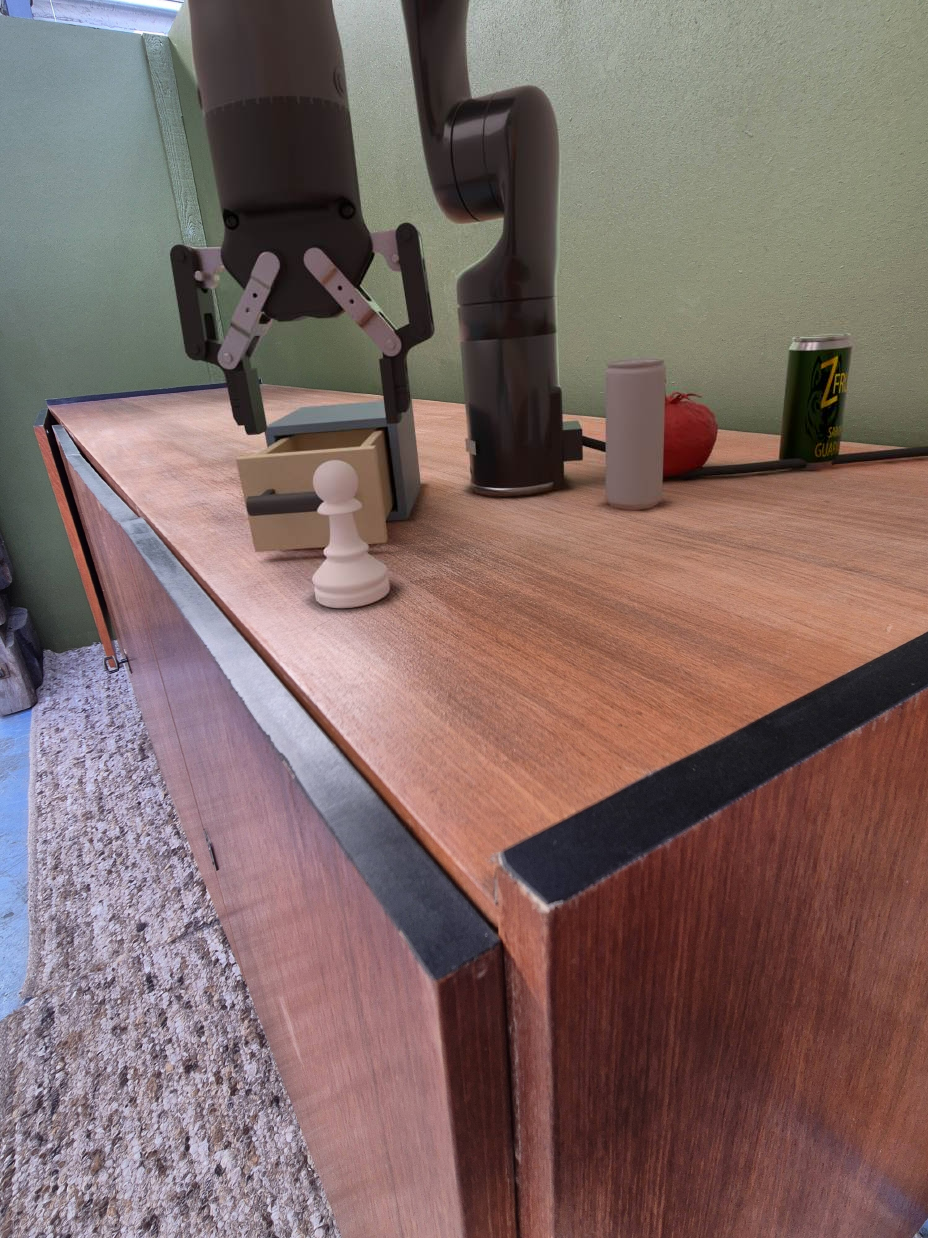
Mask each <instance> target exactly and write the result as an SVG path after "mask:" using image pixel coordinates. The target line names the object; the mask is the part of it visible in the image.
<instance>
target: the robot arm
mask: <svg viewBox="0 0 928 1238" xmlns="http://www.w3.org/2000/svg"><path fill="white" fill-rule="evenodd" d="M470 2H471V0H399V4H400V9H401V10H400V11H401V15H402V20H403V21H402V22H403V28H404V32H405V38H406V39H405V40H406V47H407V53H408V58H409V59H408V60H409V65H410V66H409V67H410V73H411V78H412V85H413V93H414V99H415V107H416V113H417V121H418V128H419V135H420V143H421V147H422V154H423V159H424V165H425V170H426V173H427V179H428V183H429V185H430V188H431V192H432V194H433V197H434V200H435V202H436V205H437V206H438V208H439V209H440V212H441V213H442V214H443V216H444V217H445V218H446V219H447V220H448V221H449V222H451V223H452V224H455V225H458V226H459V225H461V226H467V225H475V224H481V223H487V222H493V221H494V222H495V221H499V220H503V222H502V229H501V234H500V235H499V237H498V240H497V241H496V243H495V244H493V246H492V247H491V248H490V250H489V251H488V252H487V253H486V254H484V256H482V257H480V258H479V259H478V260H477V261H475V262H473V263H472V264H470V265H468V266H466V267H465V268H464V269H462V270H461V271H459V273H458V274H457V277H456V280H455V292H456V293H455V294H456V304H457V317H458V318H457V319H458V331H459V341H460V356H461V368H462V381H463V394H464V395H463V396H464V408H465V420H466V433H467V437H465V438H464V440H465V441H464V442H465V451H466V452H467V453H468V458H469V474H470V481H469V483H470V489H471V491H473V492H474V493H477V494H480V495H485V496H494V497H514V496H515V497H516V496H525V495H526V496H527V495H533V494H540V493H545V492H549V491H551V490H560V489H565V487H566V486H565V462H580V461H583V460H584V447H585V448H588V449H592V450H596V451H600V452H602V453H605V454H606V441H603V440H600V439H596V438H592V437H589V436H586V435H583V427H582V425H581V424H580V421H579V420H566V421H565V420H564V415H563V389H562V386H561V385H560V364H559V363H560V362H559V359H560V358H559V333H558V332H559V327H558V326H559V325H558V324H559V323H558V298H557V296H558V289H557V286H558V285H557V283H558V278H557V277H558V271H559V265H560V251H561V250H560V249H561V248H560V245H561V244H560V221H561V219H560V217H561V216H560V214H561V213H560V212H561V211H560V210H561V182H562V181H561V180H562V179H561V177H562V165H561V164H562V162H561V161H562V159H561V158H562V157H561V156H562V154H561V153H562V152H561V137H560V130H559V125H558V119H557V115H556V112H555V109H554V107H553V103H552V101H551V99H550V98H549V97H548V95H547V94H546V92H545V91H544V90H543V89H541V87H538V86H536V85H533V84H524V85H518V86H514V87H510V88H506V89H503V90H498V91H495V92H490V93H486V94H483V95H480V96H475V97H473V92H472V87H471V81H470V73H469V61H468V60H469V59H468V44H467V43H468V42H467V35H468V34H467V33H468V17H469V9H470ZM187 5H188V11H189V23H190V39H191V51H192V59H193V66H194V72H195V76H196V85H195V88H196V89H195V90H196V95H197V101H198V105H199V108H200V111H201V112H202V116H203V120H204V126H205V131H206V137H207V141H208V149H209V154H210V158H211V165H212V170H213V175H214V181H215V185H216V191H217V196H218V201H219V207H220V212H221V217H222V221H223V227H224V229H223V230H224V231H223V232H224V234H223V235H224V236H223V240H222V243H221V246H214V247H213V246H212V247H209V246H208V247H195V246H192V245H187V244H180V243H179V244H175V245H173V246H172V247H171V249H170V250H169V251H170V252H169V259H170V266H171V271H172V277H173V284H174V289H175V290H174V291H175V296H176V303H177V309H178V314H179V315H178V316H179V321H180V328H181V333H182V340H183V346H184V352H185V355H186V356H187V357H188V358H189V359H191V361H195V362H196V361H198V362H199V361H201V362H204V363H208V364H212V365H215V366H217V367H218V368H219V369H221V371H222V372H223V374H224V378H225V383H226V389H227V393H228V399H229V403H230V407H231V413H232V417H233V418H232V419H233V420H234V422H235V423H236V425H237V426H238V427H241V426H243V427H244V431H245V434H246V435H247V436H257V435H261V434H263V433H264V432H265V431H266V430H267V425H268V423H267V417H266V411H265V407H264V400H263V395H262V391H261V390H262V389H261V385H260V379H259V373H258V369H257V367H252V364H251V362H252V360H253V358H254V355H255V353H256V351H257V349H258V347H259V345H260V343H261V342H262V339H263V337H264V336H265V335H267V334H268V331H269V329H270V327H271V325H272V323H273V321H277V322H278V323H287V322H299V321H302V320H305V319H308V318H314V319H335V318H340V316H342V315H343V314H345V313H346V314H347V315H348V316H349V317H350V318H351V320H352V321H354V322H355V324H356V325H357V326H358V327H359V328H360V329H362V330H363V331H364V332H365V334H366V335H367V336H368V337H369V338H370V339H371V341H372V342H374V344H375V345H376V346H377V347H378V349H379V350H380V351H381V353H382V357H381V358H378V363H379V371H380V380H381V381H380V382H381V389H382V398H383V401H384V407H385V416H386V422H387V424H396V423H400V421H401V420H402V413H405V412H407V411H408V410H409V406H410V402H411V389H410V388H411V387H410V379H409V368H408V359H407V358H408V353H409V351H410V350H412V348H414V347H416V346H418V345H420V344H422V343H424V342H425V341H428V340H430V339H431V338H433V336H434V334H435V330H436V329H435V321H434V314H433V307H432V299H431V293H430V287H429V279H428V272H427V266H426V259H425V251H424V245H423V238H422V235H421V233H420V231H419V230H418V229H417V228H416V226H415V225H414V224H412V223H411V222H403V223H400V224H399V225H398V226H397V227H396V228H394V229H388V230H381V231H376V232H370V230H369V229H368V227H367V224H366V222H365V220H364V216H363V211H362V210H363V209H362V202H361V193H360V185H359V183H360V182H359V177H358V176H359V175H358V169H357V159H356V149H355V142H354V133H353V125H352V115H351V107H350V101H349V100H350V98H349V91H348V90H349V89H348V83H347V75H346V74H347V73H346V65H345V58H344V51H343V47H342V41H341V37H340V33H339V29H338V24H337V20H336V15H335V10H334V4H333V0H187ZM376 254H381V255H382V256H383V257H384V259H385V262H386V264H387V266H388V268H389V269H390V270H391V271H394V272H396V273H400V275H401V280H402V287H403V293H404V299H405V306H406V313H407V319H408V323H407V324H405V325H403V326H400V327H399V328H397V327H396V326H395V325H394V323H393V322H392V321H391V320H390V319H389V318H388V317H387V315H386V314H385V313H384V311H383V309H382V308H381V307H380V306H379V305H378V304H377V303H376V301H375V300H374V299H373V298H372V296H371V295H370V294H369V293H368V292H367V291H366V289H364V287H363V286H362V283H363V281H364V279H365V277H366V275H367V273H368V271H369V269H370V267H371V266H372V263H373V262H374V259H375V257H376ZM223 269H225V270H226V272H227V273H228V274H229V275H230V276H231V278H232V279H234V281H235V282H236V283H237V284H238V286H240V287H241V289H242V290H243V293H242V295H241V297H240V299H239V302H238V303H237V305H236V308H235V310H234V312H233V314H232V317H231V319H230V323H229V324H230V326H229V328H228V331H227V334H226V336H225V337H224V339H223V341H222V340H220V335H219V330H218V323H217V322H218V321H217V316H216V309H215V308H216V307H215V302H214V293H213V289H216V288H217V287H218V286H219V284H220V275H221V272H222V270H223ZM921 457H922V458H923V457H928V445H925V446H914V447H913V446H912V447H902V448H894V449H882V450H873V451H872V450H871V451H862V452H849V453H839V455H837V456H836V458H835V460H834V461H833V462H832V465H834V466H836V465H847V464H858V463H866V462H867V463H869V462H877V461H879V462H880V461H888V460H899V459H910V458H911V459H912V458H921ZM806 466H807V463H806V462H805V461H804V460H802V459H799V458H796V459H786V460H779V459H778V460H777V459H776V460H769V461H759V462H748V463H736V464H724V465H723V464H720V465H719V464H718V465H708V466H703V467H699V468H696V469H693V470H691V471H689V472H687V473H684V474H680V475H677V476H673V477H667V478H663V481H680V480H681V481H683V480H691V479H697V478H704V477H715V476H716V477H717V476H733V475H744V474H754V473H763V472H764V473H765V472H773V471H784V470H796V469H795V468H805V467H806Z"/></svg>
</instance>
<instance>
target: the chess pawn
mask: <svg viewBox="0 0 928 1238" xmlns="http://www.w3.org/2000/svg"><path fill="white" fill-rule="evenodd" d="M313 486H314V489H315V492H316V494H317V495H318V496H319V498H321V499H322V500H323V501H324V502H323V503H322V504H321V505H320V506H319V508H318V510H317V512H318V513H319V514H322V515H329V521H330V542H329V545H328V546H327V547H324V549H323V555H324V556H325V557H326V559H324V561H323V563H322V564H321V565H320V566H319V568H318V569H317V570H316V571H315V573H314V574H313V575H312V578H311V580H312V584H313V586H314V588H313V591H314V596H315V600H316V602H317V603H318V604H319V605H320V606H321V605H322V606H324V607H326V608H333V609H351V608H359V607H363V606H367V605H370V604H373V603H376V602H378V601H380V600H381V599H383V598H385V597H386V596H387V595H388V594H389V592H390V589H391V584H390V579H389V576H388V572H389V570H388V567H387V565H386V564H384V563H383V562H381V560H379V559H378V558H376V557H374V556H372V555H371V554H370V553H368V551H369V548H370V546H369V544H367V543H365V542H363V541H362V540H361V539H360V537H359V535H358V532H357V529H356V525H355V522H354V517H353V512H354V511H357V510H359V509H361V508H362V504H361V503H360V502H359V501H358V500H356V499H354V498H353V497H354V495H355V494H356V492H357V489H358V477H357V474H356V472H355V470H354V469H353V468H352V467H351V466H350V465H349V464H348V463H346V462H343V461H339V460H332V461H328V462H325V463H323V464H322V465H320V466H319V467H318V468H317V470H316V471H315V473H314V477H313Z"/></svg>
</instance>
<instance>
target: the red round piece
mask: <svg viewBox="0 0 928 1238" xmlns="http://www.w3.org/2000/svg"><path fill="white" fill-rule="evenodd" d="M666 383H667V379H666V378H665V384H666ZM666 392H667V390H666V389H665V412H664V447H663V478H667V477H673V476H677V475H680V474H684V473H687V472H689V471H691V470H693V469H696V468H699V467H705V464H706V463H707V462H708V460H709V458H710V456H711V454H712V452H713V450H714V447H715V444H716V442H717V437H718V432H719V431H718V430H719V424H718V422H717V420H716V415H715V414H714V412H713V411H712V410H711V409H710V408H709V407H708V406H707V405H704V404H702V403H700V402H697V401H695V400H692V399H691V398H690V397H697V398H700V399H702V398H703V396H700V395H698V394H696V393H693V392H692V393H691V392H690V393H689V392H688V393H683V392H680V391H674V392H672V393H670V394H669V395H668V396H667V393H666ZM684 399H685V400H684Z"/></svg>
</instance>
